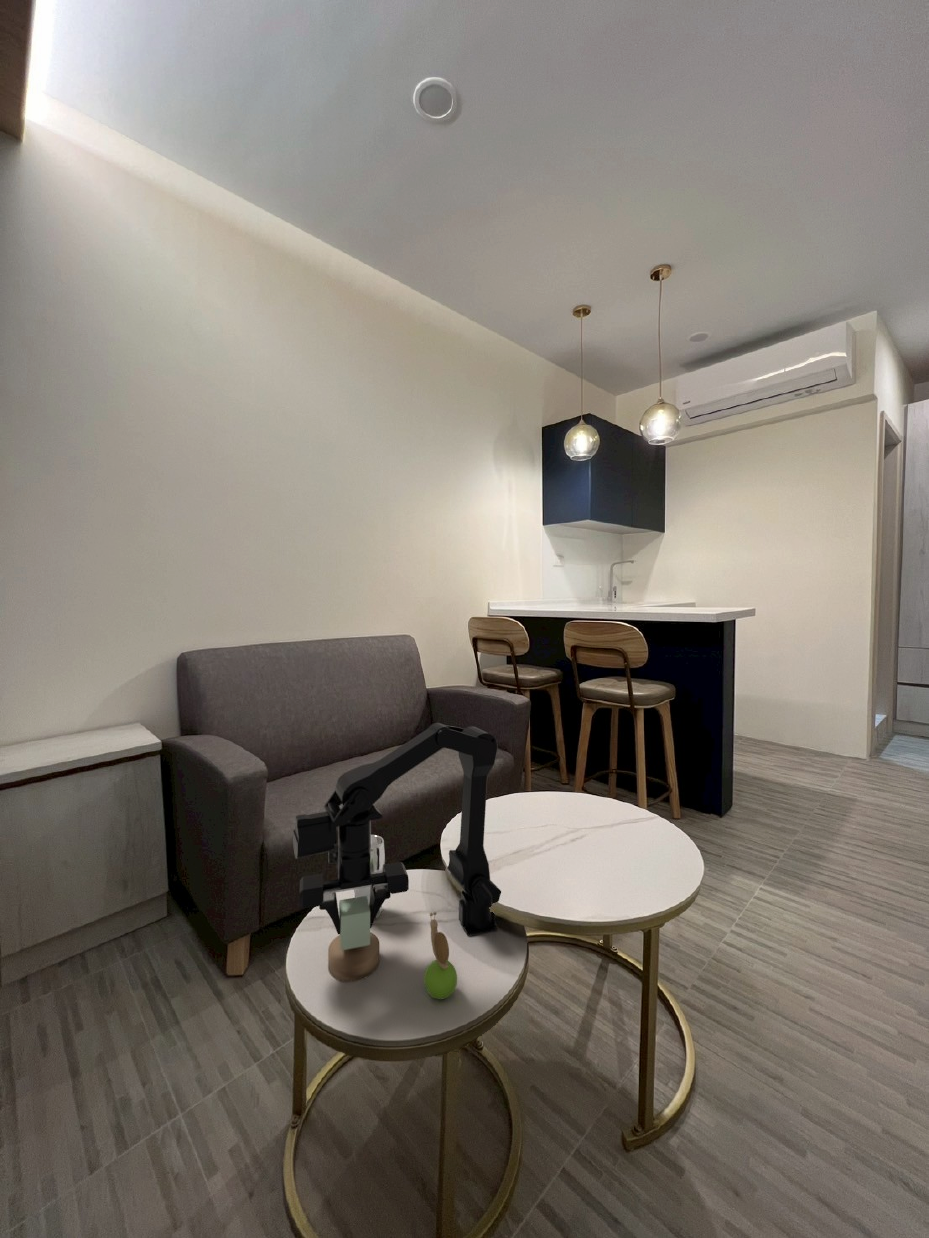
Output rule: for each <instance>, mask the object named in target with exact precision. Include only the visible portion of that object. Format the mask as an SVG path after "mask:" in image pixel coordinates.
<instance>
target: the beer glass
mask: <svg viewBox="0 0 929 1238" xmlns="http://www.w3.org/2000/svg"><path fill="white" fill-rule="evenodd" d="M385 857H386V855H385V841H384V838H383V837H382V836H379V835H376V834H371V874H373V873H374V872H376V871H383V864H386V860H385V859H386V858H385ZM353 892H354V898H356V897H362V896H367V898H368V903H369V902H370V887H366V888H360V889H354V891H353ZM382 913H383V906H381V908H380V909H379V911H378V913H377V915H376V918H375V920H376V919H378V918H379V917H380V916H381V915H382Z"/></svg>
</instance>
